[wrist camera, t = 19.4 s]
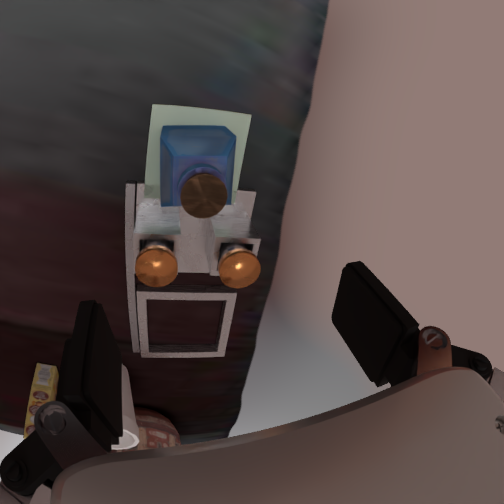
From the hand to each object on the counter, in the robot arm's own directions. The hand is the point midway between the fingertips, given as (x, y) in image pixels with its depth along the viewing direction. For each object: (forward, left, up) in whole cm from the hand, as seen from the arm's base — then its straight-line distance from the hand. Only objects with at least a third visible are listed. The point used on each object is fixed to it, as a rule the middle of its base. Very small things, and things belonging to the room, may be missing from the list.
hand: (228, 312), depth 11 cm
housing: (-9, -13, -24) cm, 29 cm away
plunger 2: (-2, -10, -22) cm, 24 cm away
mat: (+1, 0, -23) cm, 23 cm away
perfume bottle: (0, 0, -23) cm, 23 cm away
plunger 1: (-8, -5, -22) cm, 24 cm away
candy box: (-43, -15, -24) cm, 52 cm away
